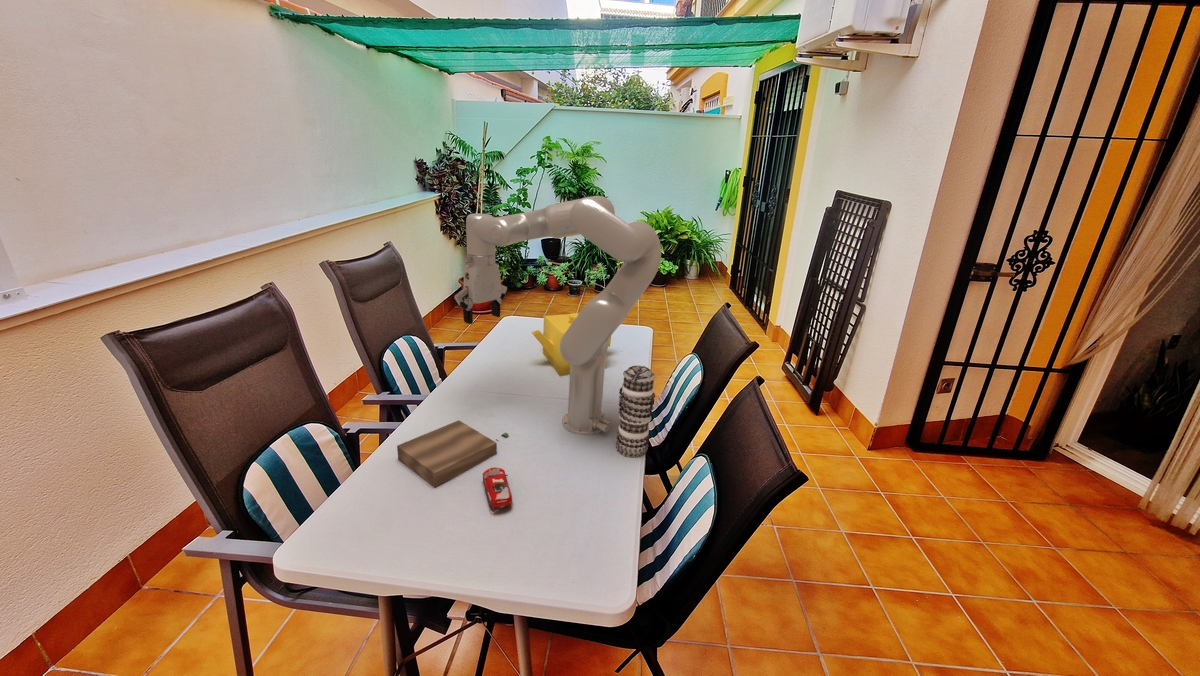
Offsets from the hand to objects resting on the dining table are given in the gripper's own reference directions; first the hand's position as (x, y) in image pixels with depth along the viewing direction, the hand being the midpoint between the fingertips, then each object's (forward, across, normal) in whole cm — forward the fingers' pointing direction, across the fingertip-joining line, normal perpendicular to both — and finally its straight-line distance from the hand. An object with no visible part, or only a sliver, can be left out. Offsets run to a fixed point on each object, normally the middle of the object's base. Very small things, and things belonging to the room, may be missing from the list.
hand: (482, 319), depth 140 cm
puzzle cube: (+29, -9, -19) cm, 36 cm away
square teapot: (+29, +40, +1) cm, 49 cm away
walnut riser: (+28, -23, -15) cm, 39 cm away
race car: (+30, -23, -32) cm, 49 cm away
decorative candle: (+28, +11, -48) cm, 57 cm away
